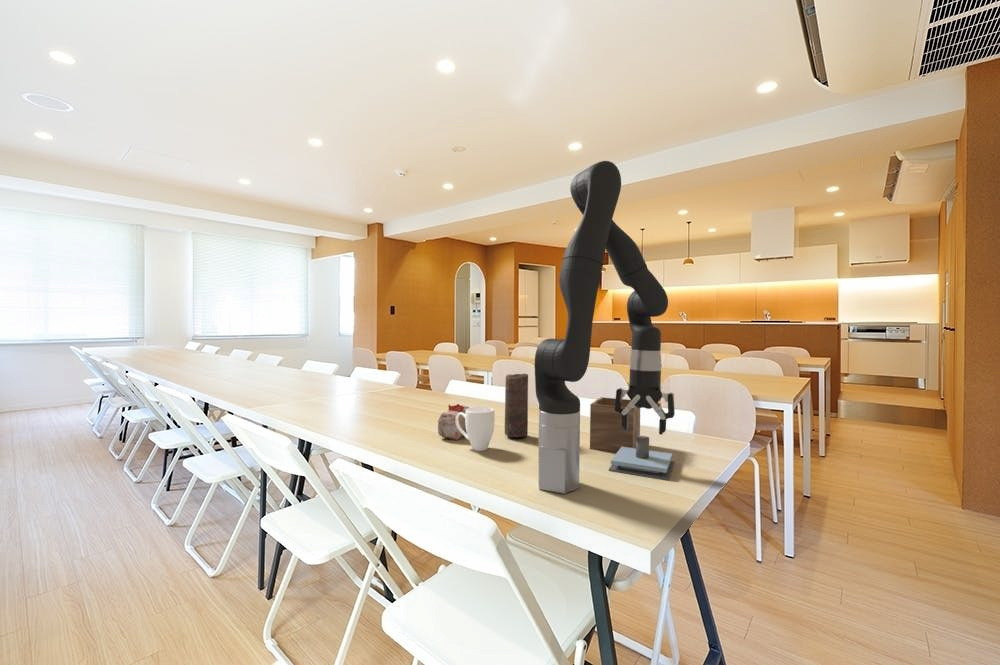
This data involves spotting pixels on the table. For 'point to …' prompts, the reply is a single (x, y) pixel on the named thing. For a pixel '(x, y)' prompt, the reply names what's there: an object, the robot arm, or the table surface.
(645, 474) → the mat
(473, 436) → the mug
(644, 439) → the lid
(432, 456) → the table surface
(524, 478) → the table surface
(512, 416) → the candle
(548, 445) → the robot arm
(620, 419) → the box
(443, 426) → the grey speckled jug shape
